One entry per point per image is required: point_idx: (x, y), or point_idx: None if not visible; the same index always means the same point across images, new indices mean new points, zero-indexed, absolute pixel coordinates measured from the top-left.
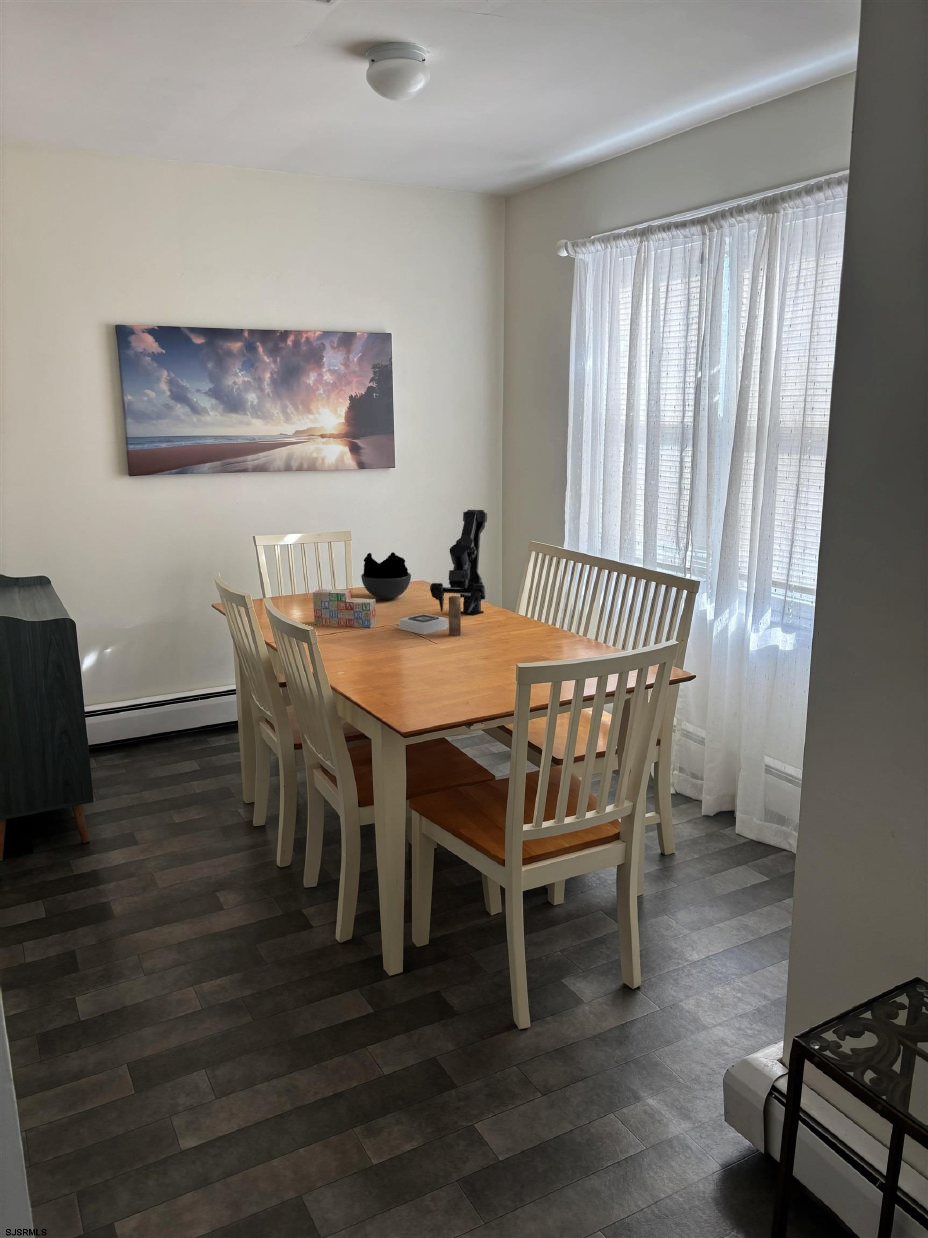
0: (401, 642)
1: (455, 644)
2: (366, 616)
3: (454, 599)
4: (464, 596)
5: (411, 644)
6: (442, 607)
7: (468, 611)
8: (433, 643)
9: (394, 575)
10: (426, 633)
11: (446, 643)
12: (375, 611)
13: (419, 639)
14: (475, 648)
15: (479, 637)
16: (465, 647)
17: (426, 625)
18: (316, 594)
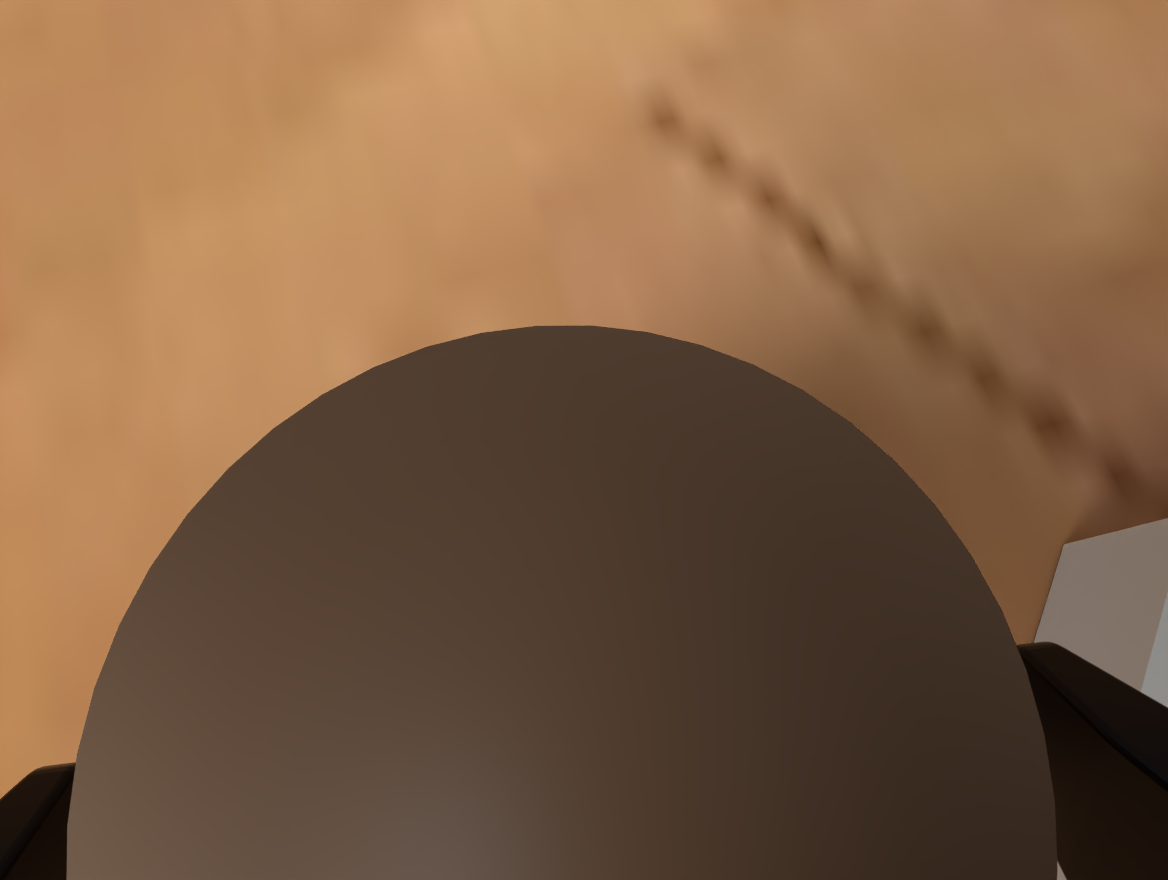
0: (1127, 57)
1: (385, 136)
2: None
3: (457, 361)
4: None
5: (955, 3)
6: (1085, 767)
7: (49, 769)
8: (700, 111)
9: None
10: (1048, 604)
11: (525, 153)
12: None
13: (980, 255)
14: (67, 22)
15: (91, 630)
16: (212, 35)
17: (1143, 594)
18: None
